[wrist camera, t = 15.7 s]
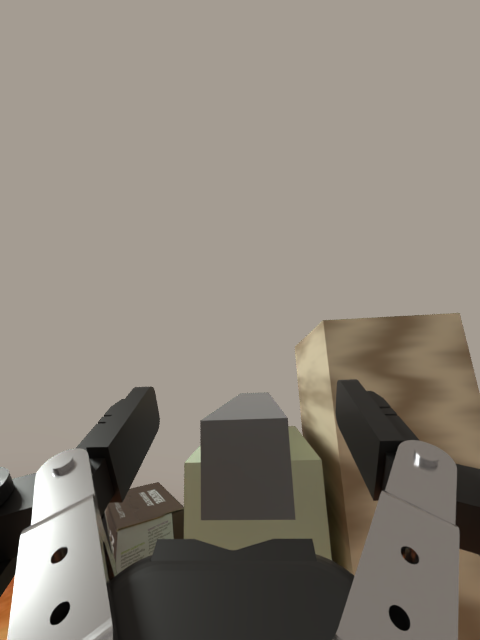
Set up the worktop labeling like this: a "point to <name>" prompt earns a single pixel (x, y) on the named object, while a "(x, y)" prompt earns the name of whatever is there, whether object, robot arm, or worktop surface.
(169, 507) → the coffee box
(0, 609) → the worktop surface
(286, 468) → the bar
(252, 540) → the step block
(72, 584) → the robot arm
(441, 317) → the brown block
